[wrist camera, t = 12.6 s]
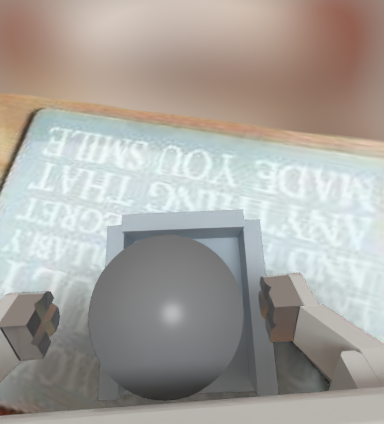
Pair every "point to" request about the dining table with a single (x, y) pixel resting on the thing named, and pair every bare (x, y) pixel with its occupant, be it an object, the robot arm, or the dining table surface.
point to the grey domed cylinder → (165, 317)
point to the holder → (244, 275)
